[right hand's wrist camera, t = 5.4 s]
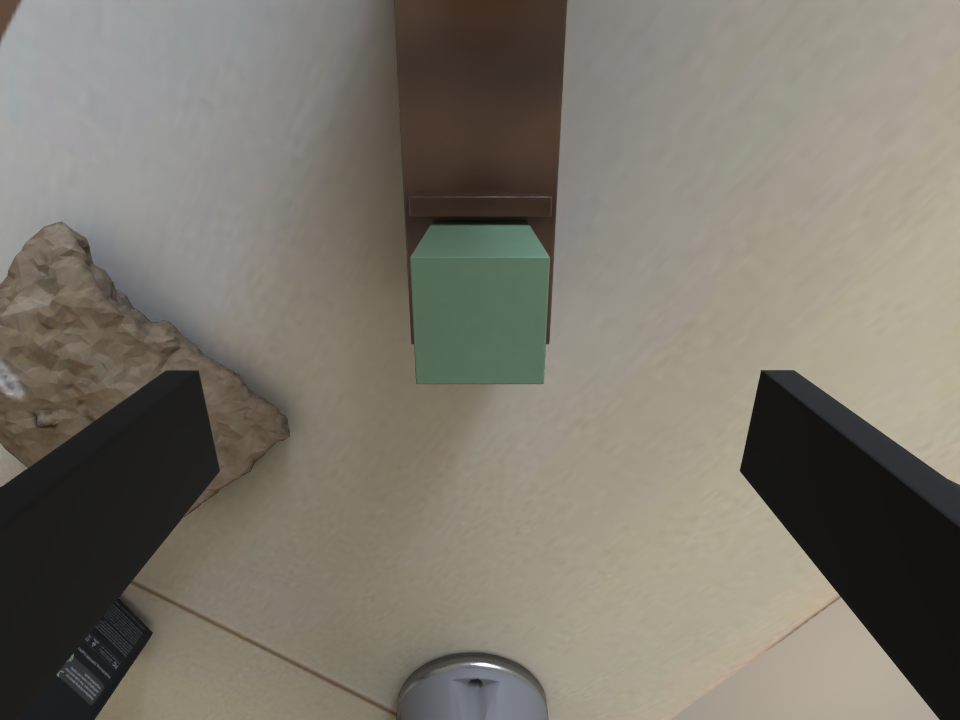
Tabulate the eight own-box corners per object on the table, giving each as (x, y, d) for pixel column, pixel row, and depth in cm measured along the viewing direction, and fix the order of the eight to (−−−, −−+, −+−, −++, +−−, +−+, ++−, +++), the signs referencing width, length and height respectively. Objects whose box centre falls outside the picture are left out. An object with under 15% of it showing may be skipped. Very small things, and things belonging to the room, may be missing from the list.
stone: (-82, 357, 37) (-150, 391, 32) (70, 211, 37) (28, 220, 31) (179, 516, 46) (161, 563, 41) (303, 400, 46) (302, 433, 41)
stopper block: (524, 311, 30) (543, 384, 21) (435, 311, 30) (416, 384, 21) (527, 220, 28) (550, 256, 19) (432, 220, 28) (409, 256, 19)
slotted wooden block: (534, 302, 39) (553, 357, 29) (425, 302, 39) (407, 357, 29) (552, -153, 30) (590, -310, 19) (408, -153, 30) (370, -310, 19)
